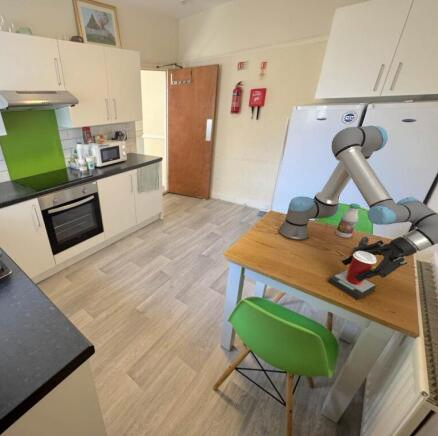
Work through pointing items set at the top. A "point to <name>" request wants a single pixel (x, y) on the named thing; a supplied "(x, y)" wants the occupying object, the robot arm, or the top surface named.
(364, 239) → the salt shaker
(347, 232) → the milk bottle
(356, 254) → the paper cup
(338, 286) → the scale
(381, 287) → the top surface
